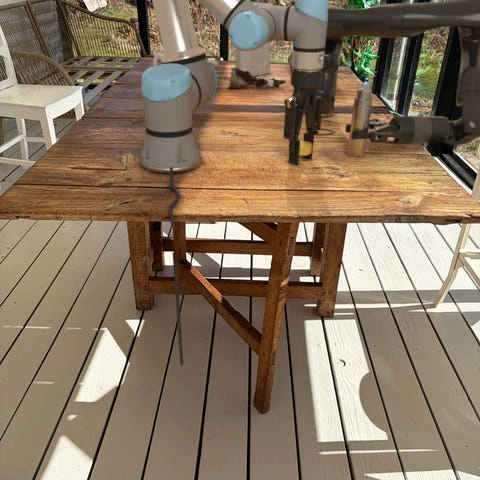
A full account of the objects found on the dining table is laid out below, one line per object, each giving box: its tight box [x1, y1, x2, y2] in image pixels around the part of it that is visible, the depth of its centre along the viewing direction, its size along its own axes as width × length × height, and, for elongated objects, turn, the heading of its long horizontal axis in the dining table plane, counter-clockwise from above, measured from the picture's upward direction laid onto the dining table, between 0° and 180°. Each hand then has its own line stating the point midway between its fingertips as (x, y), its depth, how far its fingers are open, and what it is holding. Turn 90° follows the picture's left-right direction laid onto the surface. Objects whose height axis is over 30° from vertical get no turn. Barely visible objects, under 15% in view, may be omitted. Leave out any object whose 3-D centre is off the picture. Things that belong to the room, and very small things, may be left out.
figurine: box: [216, 66, 287, 89], centre depth 190 cm, size 24×8×30 cm
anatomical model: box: [287, 52, 294, 71], centre depth 221 cm, size 13×9×15 cm
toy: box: [153, 51, 219, 68], centre depth 223 cm, size 24×25×7 cm
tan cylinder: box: [346, 87, 374, 158], centre depth 126 cm, size 5×5×17 cm
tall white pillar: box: [234, 1, 274, 77], centre depth 210 cm, size 19×15×28 cm
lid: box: [299, 140, 312, 157], centre depth 124 cm, size 5×5×2 cm
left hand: (300, 160), depth 126 cm, fingers closed on lid, 5 cm apart
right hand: (349, 131), depth 127 cm, fingers closed on tan cylinder, 4 cm apart
